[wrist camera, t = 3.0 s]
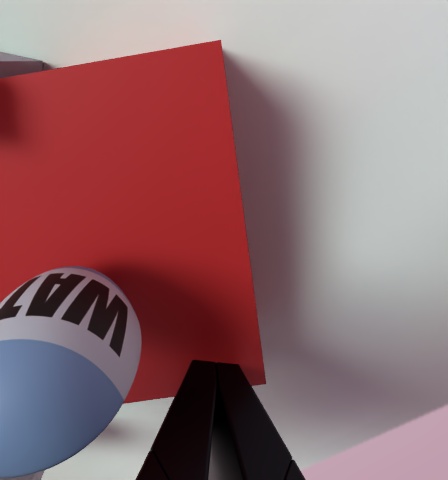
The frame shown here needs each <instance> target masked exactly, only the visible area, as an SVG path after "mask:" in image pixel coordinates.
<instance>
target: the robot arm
mask: <svg viewBox="0 0 448 480" xmlns="http://www.w3.org/2000/svg"><path fill="white" fill-rule="evenodd" d="M136 480H305V478H304V476H303V475H302V473H301V471H300V469H299V468H298V466H297V464H296V462H295V461H294V460H292V456H291V454H290V452H289V450H288V449H287V447H286V445H285V443H284V442H283V440H282V438H281V437H280V435H279V433H278V431H277V430H276V428H275V426H274V424H273V423H272V421H271V419H270V417H269V416H268V414H267V412H266V411H265V409H264V407H263V405H262V404H261V402H260V400H259V398H258V397H257V395H256V393H255V391H254V390H253V388H252V386H251V384H250V383H249V381H248V379H247V378H246V376H245V374H244V372H243V371H242V369H241V367H240V365H239V364H232V363H222V362H217V363H215V362H212V361H203V360H192V361H191V363H190V366H189V368H188V370H187V372H186V374H185V376H184V378H183V381H182V383H181V385H180V387H179V389H178V391H177V393H176V395H175V398H174V400H173V402H172V404H171V406H170V408H169V410H168V413H167V415H166V417H165V419H164V421H163V423H162V425H161V428H160V430H159V432H158V434H157V436H156V438H155V440H154V443H153V445H152V447H151V450H150V451H149V453H148V455H147V457H146V459H145V461H144V464H143V466H142V468H141V470H140V472H139V474H138V476H137V478H136Z"/></svg>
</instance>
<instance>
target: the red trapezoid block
mask: <svg viewBox="0 0 448 480" xmlns="http://www.w3.org/2000/svg"><path fill="white" fill-rule="evenodd" d="M192 360H203V361H212V362H215V363H217V362H222V363H232V364H239V365H240V367H241V369H242V371H243V372H244V374H245V376H246V378H247V379H248V381H249V383H250V384H251V386H254V385H261V384H266V379H265V371H264V364H263V356H262V349H261V341H260V333H259V326H258V318H257V311H256V303H255V296H254V288H253V280H252V273H251V265H250V258H249V250H248V243H247V235H246V227H245V220H244V212H243V205H242V197H241V190H240V182H239V174H238V167H237V159H236V152H235V144H234V137H233V129H232V121H231V114H230V106H229V99H228V91H227V83H226V76H225V68H224V61H223V53H222V46H221V40H218V41H212V42H206V43H201V44H195V45H189V46H183V47H178V48H172V49H166V50H160V51H155V52H149V53H143V54H138V55H132V56H126V57H120V58H115V59H109V60H103V61H97V62H92V63H86V64H80V65H74V66H69V67H63V68H57V69H52V70H46V71H40V72H34V73H29V74H23V75H17V76H11V77H6V78H0V478H15V477H21V476H26V475H30V474H34V473H37V472H40V471H43V470H46V469H48V468H51V467H53V466H55V465H57V464H59V463H61V462H63V461H65V460H67V459H69V458H70V457H72V456H74V455H75V454H77V453H78V452H79V451H81V450H82V449H84V448H85V447H86V446H87V445H89V444H90V443H91V442H92V441H93V440H94V439H95V438H96V437H97V436H98V435H99V434H100V433H101V432H102V431H103V430H104V429H105V428H106V427H107V425H108V424H109V423H110V422H111V421H112V419H113V418H114V416H115V415H116V414H117V412H118V411H119V409H120V407H121V406H122V404H124V403H131V402H139V401H146V400H153V399H160V398H168V397H175V395H176V393H177V391H178V389H179V387H180V385H181V383H182V381H183V378H184V376H185V374H186V372H187V370H188V368H189V366H190V363H191V361H192Z"/></svg>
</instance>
